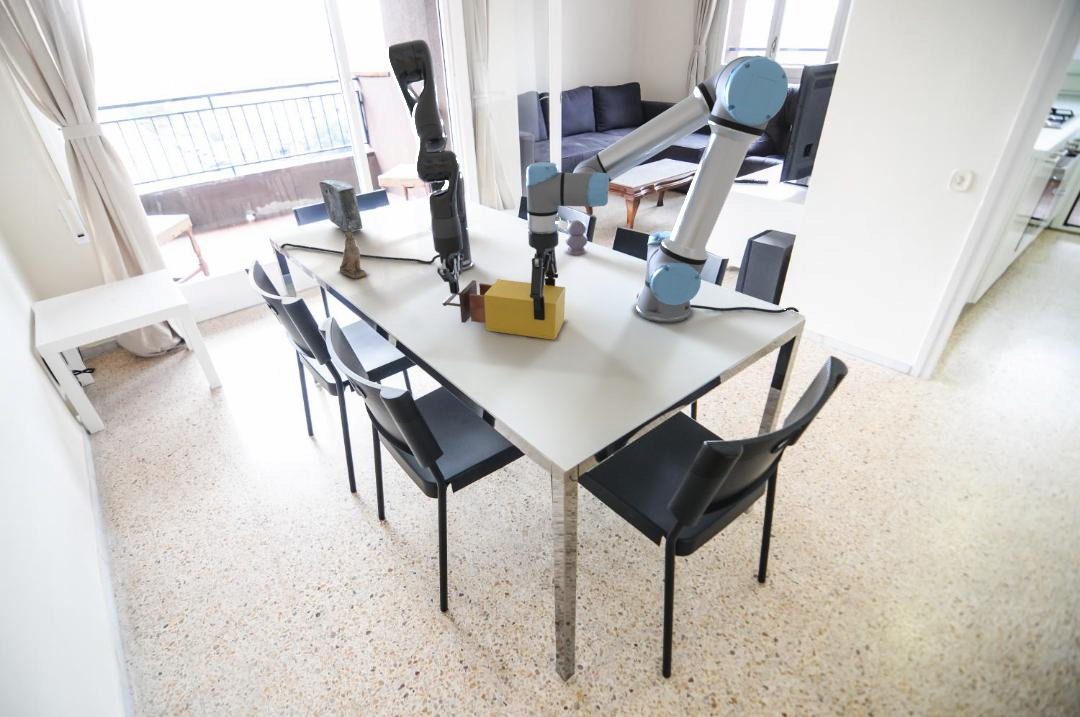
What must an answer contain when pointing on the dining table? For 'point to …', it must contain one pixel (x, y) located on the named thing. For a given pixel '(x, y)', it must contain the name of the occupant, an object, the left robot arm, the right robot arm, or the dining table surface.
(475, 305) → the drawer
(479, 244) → the dining table surface
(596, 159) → the right robot arm
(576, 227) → the grey rounded figurine
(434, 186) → the left robot arm
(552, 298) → the yellow box
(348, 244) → the brown carved statuette
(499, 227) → the dining table surface
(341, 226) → the concrete block
